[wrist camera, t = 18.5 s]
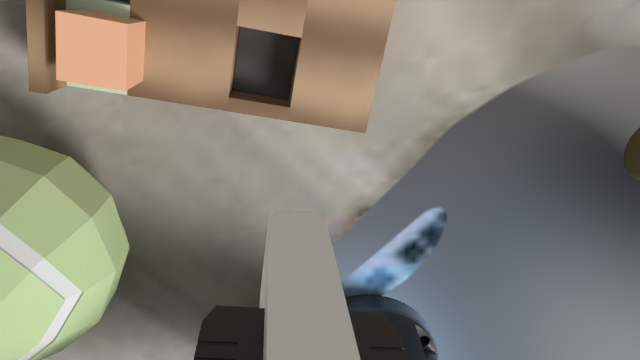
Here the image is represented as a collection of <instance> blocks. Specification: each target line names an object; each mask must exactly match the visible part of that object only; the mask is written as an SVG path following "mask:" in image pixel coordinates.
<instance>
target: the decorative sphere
mask: <svg viewBox="0 0 640 360" xmlns="http://www.w3.org/2000/svg"><path fill="white" fill-rule="evenodd" d="M129 248H130V247H129V243H128V239H127V236H126V232H125V229H124V227H123V225H122V222H121V220H120V218H119V215H118V212H117V209H116V206H115V203H114V200H113V197H112V194H111V193H110V192H109V191H108V190H107V189H106V188H105V187H104V186H103V185H102V184H101V183H100V182H99V181H98V180H97V179H95V178H94V177H93V176H92V175H91V174H90V173H89V172H88V171H87V170H85V169H84V168H83V167H82V166H81V165H80V164H79V163H78V162H77V161H76V160H74V159H73V158H71V157H70V156H67V155H64V154H61V153H58V152H55V151H52V150H49V149H46V148H44V147H41V146H38V145H35V144H32V143H29V142H26V141H23V140H19V139H14V138H10V137H5V136H1V135H0V360H41V359H43V358H46V357H48V356H50V355H52V354H55V353H57V352H59V351H62V350H63V349H65V348H66V347H67V346H68V345H70V344H71V343H72V342H73V341H75V340H76V339H77V338H79V337H80V336H81V335H82V334H84V333H85V332H86V331H88V330H89V329H90V328H91V327H93V326H94V325H95V324H97V323H98V322H99V321H100V319H101V317H102V315H103V313H104V312H105V310H106V308H107V306H108V304H109V303H110V301H111V299H112V297H113V295H114V293H115V292H116V290H117V287H118V283H119V280H120V277H121V274H122V270H123V267H124V264H125V261H126V258H127V254H128V251H129Z"/></svg>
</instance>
